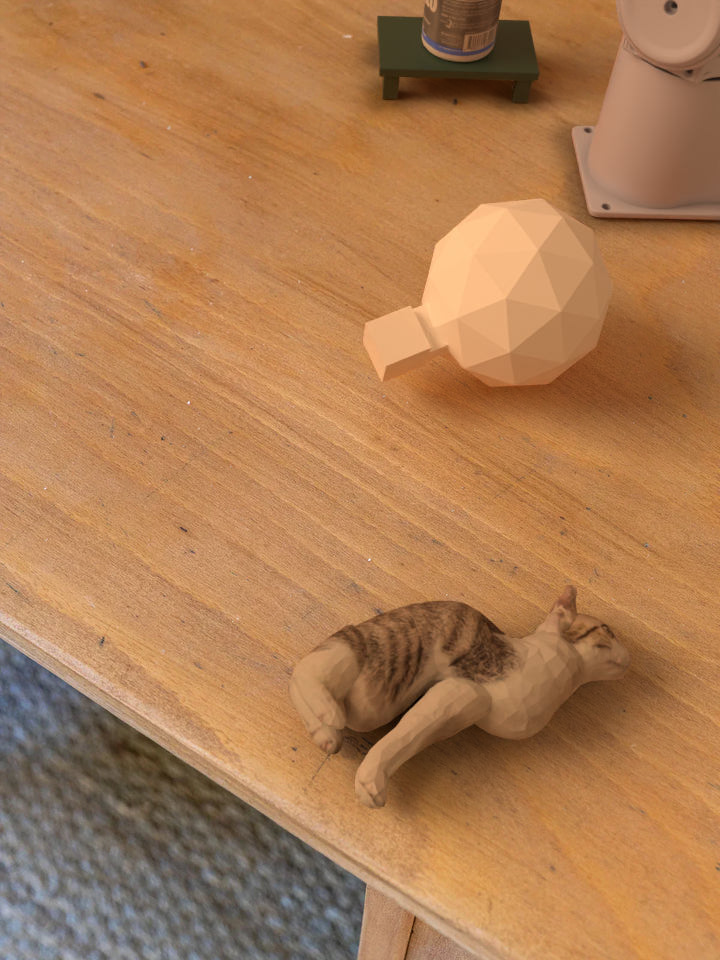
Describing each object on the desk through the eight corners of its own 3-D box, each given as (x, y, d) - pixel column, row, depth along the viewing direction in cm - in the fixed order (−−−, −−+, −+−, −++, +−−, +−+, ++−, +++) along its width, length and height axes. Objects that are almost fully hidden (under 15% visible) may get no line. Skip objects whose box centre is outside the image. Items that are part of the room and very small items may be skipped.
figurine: (582, 1084, 28) (874, 782, 34) (273, 659, 34) (567, 462, 39) (542, 1078, 32) (811, 807, 37) (270, 697, 37) (539, 512, 43)
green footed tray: (522, 52, 63) (529, 20, 61) (532, 105, 60) (540, 73, 58) (375, 48, 63) (377, 15, 61) (377, 101, 60) (379, 68, 58)
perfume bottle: (536, 233, 51) (334, 312, 49) (585, 132, 42) (340, 224, 40) (609, 372, 49) (403, 459, 47) (677, 298, 40) (426, 401, 38)
